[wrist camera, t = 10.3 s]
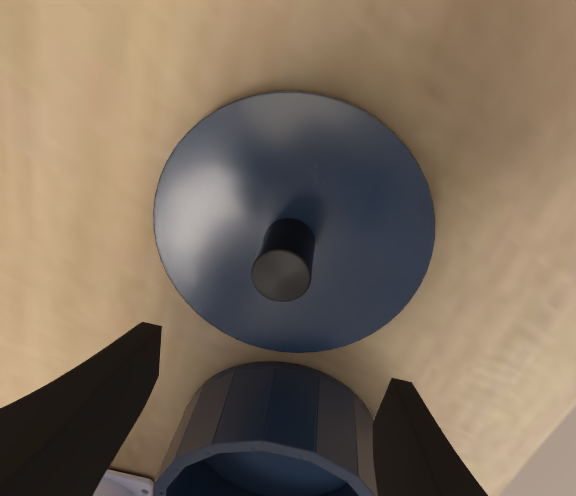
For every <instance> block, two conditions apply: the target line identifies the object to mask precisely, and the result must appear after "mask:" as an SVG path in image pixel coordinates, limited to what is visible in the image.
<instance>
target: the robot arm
mask: <svg viewBox="0 0 576 496" xmlns="http://www.w3.org/2000/svg"><path fill="white" fill-rule="evenodd" d="M161 330H162V326H158V325H154V324H150V323H145V322H142V323H140V324H138V325H137V326H135V327H134V328H133V329H131V330H130V331H128V332H127V333H126V334H124V335H123V336H121V337H120V338H119V339H117V340H116V341H114V342H113V343H111V344H110V345H109V346H107V347H106V348H104V349H103V350H101V351H100V352H98V353H97V354H95V355H94V356H92V357H91V358H89V359H88V360H86V361H85V362H83V363H82V364H80V365H79V366H77V367H75V368H74V369H72V370H70V371H69V372H67V373H65V374H64V375H62V376H61V377H59V378H57V379H56V380H54V381H52V382H51V383H49V384H47V385H45V386H43V387H42V388H40V389H38V390H36V391H34V392H32V393H31V394H29V395H27V396H25V397H23V398H21V399H19V400H17V401H15V402H13V403H11V404H9V405H7V406H5V407H2V408H0V496H153V487H154V483H153V481H152V480H151V479H148V478H144V477H140V476H135V475H131V474H126V473H122V472H118V471H113V470H109V469H108V467H109V466H110V464H111V462H112V461H113V459H114V457H115V456H116V454H117V452H118V451H119V449H120V447H121V446H122V444H123V442H124V441H125V439H126V437H127V436H128V434H129V432H130V431H131V429H132V427H133V426H134V424H135V422H136V421H137V419H138V417H139V416H140V414H141V412H142V410H143V409H144V407H145V405H146V403H147V401H148V399H149V396H150V394H151V392H152V390H153V387H154V385H155V383H156V381H157V378H158V376H159V362H160V346H161ZM373 462H374V470H375V478H376V486H377V494H378V496H488V495H487V494H486V492H485V491H484V490H483V488H482V487H481V486H480V485H479V483H478V482H477V481H476V479H475V478H474V477H473V475H472V474H471V473H470V471H469V470H468V468H467V467H466V466H465V464H464V463H463V462H462V460H461V459H460V457H459V456H458V455H457V453H456V452H455V450H454V449H453V447H452V446H451V444H450V443H449V441H448V440H447V438H446V437H445V435H444V434H443V432H442V431H441V429H440V427H439V426H438V424H437V423H436V421H435V420H434V418H433V416H432V415H431V413H430V411H429V410H428V408H427V407H426V405H425V403H424V402H423V400H422V398H421V397H420V395H419V394H418V392H417V390H416V389H415V387H414V385H413V384H412V382H408V381H404V380H399V379H395V378H392V379H391V381H390V383H389V386H388V388H387V391H386V393H385V396H384V398H383V400H382V403H381V405H380V408H379V410H378V412H377V415H376V417H375V420H374V422H373Z"/></svg>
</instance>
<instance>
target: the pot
mask: <svg viewBox="0 0 576 496" xmlns="http://www.w3.org/2000/svg"><path fill="white" fill-rule="evenodd" d="M373 422H374V421H373V419H372V417H371V415H370V412H369V411H368V409H367V408H366V406H365V405H364V403H363V402H362V401H361V400H360V399H359V398H358V397H357V395H356V394H354V393H353V392H352V391H351V390H350V389H349V388H348V387H346V386H345V385H343V384H342V383H340V382H339V381H337V380H336V379H334V378H332V377H330V376H328V375H326V374H324V373H322V372H319V371H317V370H314V369H311V368H308V367H304V366H300V365H296V364H290V363H282V362H256V363H249V364H244V365H240V366H236V367H233V368H230V369H228V370H225V371H223V372H221V373H219V374H217V375H215V376H214V377H212V378H211V379H209V380H208V381H207V382H206V383H204V384H203V385H202V386H201V387H200V389H199V390H198V391H197V392H196V394H195V395H194V397H193V398H192V400H191V402H190V404H189V405H188V406H187V407H186V409H185V412H184V414H183V416H182V419H181V421H180V423H179V426H178V428H177V430H176V433H175V435H174V437H173V440H172V442H171V444H170V447H169V449H168V452H167V454H166V456H165V459H164V461H163V463H162V466H161V468H160V470H159V473H158V475H157V477H156V480H155V482H154V487H153V496H378V494H377V486H376V478H375V470H374V462H373Z"/></svg>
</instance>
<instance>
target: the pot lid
mask: <svg viewBox="0 0 576 496" xmlns="http://www.w3.org/2000/svg"><path fill="white" fill-rule="evenodd" d="M153 215H154V232H155V239H156V245H157V248H158V251H159V255H160V258H161V261H162V263H163V266H164V268H165V270H166V272H167V275H168V276H169V278H170V280H171V281H172V283H173V285H174V286H175V288H176V290H177V291H178V292H179V293H180V295H181V296H182V297H183V299H184V300H185V301H186V302H187V303H188V304H189V305H190V306H191V307H192V308H193V310H194V311H195V312H196V313H197V314H199V315H200V316H201V317H202V318H204V319H205V320H206V321H207V322H208V323H210V324H211V325H213V326H214V327H216V328H217V329H219V330H220V331H222V332H224V333H226V334H228V335H229V336H231V337H233V338H235V339H237V340H240V341H243V342H245V343H248V344H250V345H253V346H257V347H261V348H264V349H269V350H275V351H281V352H293V353H305V352H318V351H325V350H331V349H335V348H338V347H342V346H346V345H348V344H351V343H354V342H356V341H359V340H361V339H363V338H365V337H367V336H369V335H370V334H372V333H374V332H376V331H377V330H379V329H380V328H382V327H383V326H384V325H386V324H387V323H389V322H390V321H391V320H392V319H393V318H394V317H395V316H396V315H398V314H399V313H400V312H401V310H402V309H403V308H404V307H405V306H406V305H407V304H408V302H409V301H410V300H411V299H412V297H413V296H414V294H415V293H416V291H417V290H418V288H419V286H420V284H421V282H422V280H423V278H424V276H425V274H426V272H427V269H428V266H429V263H430V260H431V257H432V252H433V246H434V240H435V215H434V208H433V201H432V198H431V194H430V191H429V187H428V184H427V181H426V179H425V177H424V175H423V173H422V171H421V168H420V166H419V165H418V163H417V162H416V160H415V158H414V157H413V155H412V154H411V152H410V151H409V149H408V148H407V147H406V146H405V145H404V144H403V142H402V141H401V140H400V139H399V138H398V137H397V136H396V134H395V133H394V132H393V131H391V130H390V129H389V128H388V127H387V126H386V125H384V124H383V123H382V122H381V121H380V120H379V119H377V118H375V117H374V116H372V115H371V114H369V113H368V112H366V111H364V110H363V109H361V108H359V107H357V106H355V105H352V104H350V103H348V102H346V101H344V100H341V99H338V98H334V97H331V96H327V95H324V94H320V93H313V92H306V91H274V92H267V93H260V94H256V95H252V96H249V97H246V98H242V99H239V100H237V101H234V102H232V103H230V104H228V105H226V106H223V107H221V108H219V109H218V110H216V111H214V112H213V113H211V114H210V115H208V116H207V117H205V118H204V119H202V120H201V121H200V122H199V123H198V124H197V125H195V126H194V127H193V128H192V129H191V130H190V131H189V132H188V133H187V134H186V135H185V136H184V137H183V139H182V140H181V141H180V142H179V143H178V145H177V146H176V147H175V149H174V150H173V152H172V154H171V155H170V157H169V159H168V160H167V162H166V164H165V167H164V169H163V171H162V174H161V176H160V179H159V183H158V186H157V190H156V194H155V202H154V211H153Z"/></svg>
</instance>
